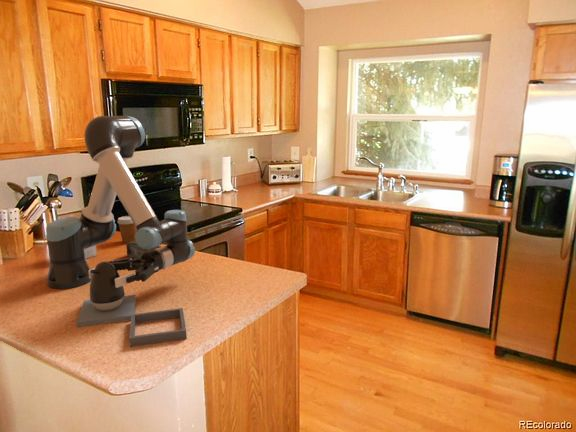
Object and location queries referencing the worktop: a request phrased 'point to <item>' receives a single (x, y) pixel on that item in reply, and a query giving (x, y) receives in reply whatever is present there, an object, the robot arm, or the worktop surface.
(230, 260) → the worktop surface
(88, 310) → the slate-blue board
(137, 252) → the beverage carton
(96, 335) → the worktop surface
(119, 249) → the worktop surface
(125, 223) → the disposable coffee cup
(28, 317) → the worktop surface
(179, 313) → the gray open frame
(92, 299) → the dark brown egg shape
